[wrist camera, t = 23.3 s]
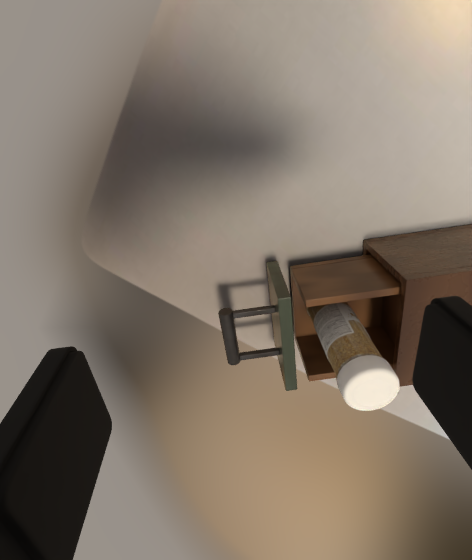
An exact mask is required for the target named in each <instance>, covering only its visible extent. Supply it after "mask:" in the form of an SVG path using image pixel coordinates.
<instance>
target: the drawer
mask: <svg viewBox="0 0 472 560" xmlns="http://www.w3.org/2000/svg"><path fill="white" fill-rule="evenodd" d="M266 264H267V274H268V283H269V293H270V303H271V305H270V306H263V307H256V308H249V309H242V310H235V311H233V312H232V310H231V309H230V308H223V309H221V310H220V311H219V318H220V323H221V329H222V333H223V339H224V344H225V350H226V355H227V360H228V363H229V364H230V365H236V364H238V363H239V362H240V360H246V359H254V358H260V357H268V356H275V355H277V356H278V360H279V364H280V368H281V372H282V376H283V381H284V384H285V389H286V391H289V390H296V389H297V379H296V364H295V349H294V334H295V340H296V343H297V346H298V349H299V352H300V355H301V358H302V361H303V364H304V367H305V370H306V373H307V376H308V380H309V381H315V380H322V379H329V378H336V375H335V373H334V370H333V368H332V366H331V364H330V362H329V360H328V359H327V356H326V354H325V351H324V349H323V347H322V344H321V342H320V339H319V337H318V335H317V332H316V330H315V327H314V323H313V321H312V319H311V317H310V316H309V314H308V313H307V309H306V307H312V306H319V305H326V304H333V303H341V302H347V303H348V305H349V306H350V307H351V308H352V310H353V311H354V313H355V314H356V316H357V317H358V319H359V321H360V322H361V324H362V325H363V327H364V328H365V330H366V331H367V333H368V335H369V337H370V339H371V341H372V342H373V344H374V345H375V347H376V349H377V350H378V351H379V353H380V355H381V356H382V358H383V359H385V360H386V361H387V362H388V363H389V364H390V366H391V367H393V357H394V348H395V339H396V330H397V321H398V312H399V303H400V294H401V285H402V283H400V282H399V281H398V280H397V279H396V278H395V277H394V276H393V275H392V274H391V273H390V272H389V271H388V270H387V269H386V268H385V267H384V266H383V265H382V264H381V263H380V262H379V261H378V260H377V259H376V258H375V257H374V256H373V255H372V254H370V255H363V256H356V257H349V258H342V259H335V260H328V261H321V262H314V263H308V264H301V265H294V266H290V274H291V289H292V304H293V319H294V334H293V319H292V305H291V296H290V293H289V291H288V288H287V286H286V283H285V280H284V278H283V275H282V272H281V270H280V267H279V265H278V262H277V261H273V262H267V263H266ZM269 313H272V323H273V333H274V342H275V347H276V348H271V349H263V350H256V351H250V352H242V353H240V354H239V348H238V342H237V336H236V330H235V324H234V318H241V317H248V316H255V315H262V314H269Z"/></svg>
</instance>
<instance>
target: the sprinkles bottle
mask: <svg viewBox="0 0 472 560" xmlns="http://www.w3.org/2000/svg"><path fill="white" fill-rule="evenodd" d="M306 309H307V313H308V314H309V316H310V317H311V319H312V321H313V323H314V327H315V330H316V332H317V335H318V337H319V339H320V342H321V344H322V347H323V349H324V351H325V354H326V356H327V359H328V360H329V362H330V364H331V366H332V368H333V370H334V373H335V375H336V379H337V385H338V387H339V390H340V392H341V394H342V396H343V398H344V400H345V402H346V403H347V404H348V405H349V406H350V407H352V408H354V409H357V410H361V411H370V410H375V409H379V408H381V407H384V406H385V405H387V404H389V403H390V402H391V401H392V400H393V399H394V398H395V397H396V395H397V393H398V391H399V387H400V383H399V379H398V377H397V375H396V374H395V372H394V370H393V369H392V367H391V366H390V364H389V363H388V362H387V361H386V360H385V359H383V358H382V356H381V355H380V353H379V351H378V350H377V349H376V347H375V345H374V344H373V342H372V341H371V339H370V337H369V335H368V333H367V331H366V330H365V328H364V327H363V325H362V324H361V322H360V321H359V319H358V317H357V316H356V314H355V313H354V311H353V310H352V308H351V307H350V306H349V305H348V303H347V302H341V303H333V304H326V305H319V306H312V307H306Z"/></svg>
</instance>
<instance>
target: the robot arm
mask: <svg viewBox="0 0 472 560" xmlns="http://www.w3.org/2000/svg"><path fill="white" fill-rule="evenodd" d="M412 381H413V386H414V388H415V390H416V392H417V393H418V395H419V396H420V398H421V399H422V400H423V402H424V403H425V405H426V406H427V407H428V409H429V410H430V412H431V413H432V415H433V416H434V417H435V419H436V420H437V422H438V423H439V424H440V426H441V427H442V429H443V430H444V431H445V433H446V434H447V436H448V437H449V438H450V440H451V441H452V443H453V444H454V445H455V447H456V448H457V450H458V451H459V453H460V454H461V455H462V457H463V458H464V459H465V461H466V462H467V464H468V465H469V466H470V468H471V469H472V306H471V305H470V304H468V303H467V302H466V301H465V300H463V299H462V298H461V297H459V296H449V297H441V298H435V299H433V300H432V301H431V303H430V305H427V306H426V307H425V310H424V315H423V321H422V327H421V332H420V338H419V343H418V349H417V354H416V360H415V366H414V371H413V377H412ZM111 430H112V421H111V418H110V415H109V412H108V410H107V408H106V405H105V403H104V401H103V398H102V396H101V393H100V391H99V389H98V386H97V384H96V381H95V379H94V377H93V374H92V372H91V370H90V367H89V365H88V362H87V360H86V358H85V355H84V353H83V352H82V351H77V350H76V348H75V347H65V348H56V349H51V350H49V351H48V352H47V353H46V355H45V356H44V358H43V359H42V361H41V362H40V364H39V365H38V367H37V368H36V370H35V372H34V373H33V375H32V376H31V378H30V379H29V381H28V382H27V384H26V385H25V387H24V388H23V390H22V391H21V393H20V394H19V396H18V398H17V399H16V401H15V402H14V404H13V405H12V407H11V408H10V410H9V411H8V413H7V414H6V416H5V417H4V419H3V420H2V422H1V424H0V560H73V557H74V553H75V550H76V547H77V543H78V540H79V536H80V533H81V530H82V527H83V523H84V520H85V517H86V513H87V510H88V507H89V504H90V500H91V497H92V493H93V490H94V487H95V484H96V480H97V477H98V473H99V470H100V467H101V464H102V460H103V457H104V454H105V450H106V447H107V444H108V441H109V437H110V434H111Z"/></svg>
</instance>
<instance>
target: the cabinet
mask: <svg viewBox="0 0 472 560" xmlns="http://www.w3.org/2000/svg"><path fill="white" fill-rule="evenodd" d="M370 254H372V255H373V256H374V257H375V258H376V259H377V260H378V261H379V262H380V263H381V264H382V265H383V266H384V267H385V268H386V269H387V270H388V271H389V272H390V273H391V274H392V275H393V276H394V277H395V278H396V279H397V280H398V281H399V282H400V283H402V285H401V294H400V303H399V312H398V321H397V330H396V339H395V348H394V357H393V367H392V369H393V370H394V372H395V374H396V375H397V377H398V379H399V383H400V386H407V385H413V381H412V377H413V371H414V366H415V360H416V354H417V349H418V343H419V338H420V332H421V327H422V321H423V315H424V310H425V307H426V306H427V305H430V303H431V301H432V300H433V299H435V298H441V297H449V296H459V297H461V298H462V299H463V300H465V301H466V302H467V303H468V304H470V305H471V306H472V224H470V225H463V226H456V227H449V228H443V229H436V230H429V231H422V232H415V233H408V234H401V235H394V236H387V237H380V238H373V239H366V240H364V244H363V255H370Z"/></svg>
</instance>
